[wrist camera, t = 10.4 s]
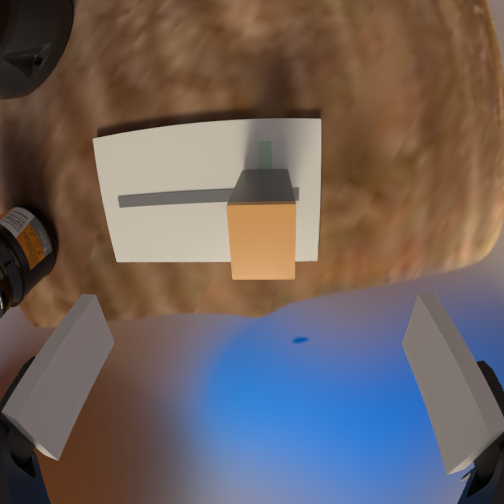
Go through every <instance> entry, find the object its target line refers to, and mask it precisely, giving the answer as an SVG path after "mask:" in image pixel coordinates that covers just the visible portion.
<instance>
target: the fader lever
mask: <svg viewBox="0 0 504 504" xmlns="http://www.w3.org/2000/svg"><path fill="white" fill-rule="evenodd" d="M226 207H227V220H228V232H229V244H230V256H231V267H232V279H295V251H296V201H295V197H294V193H293V188H292V184H291V180H290V176H289V172H288V169H255V170H242V172H241V174H240V176H239V179H238V181H237V183H236V185H235V187H234V190H233V192H232V194H231V196H230V199H229V201H228V203H227V205H226Z"/></svg>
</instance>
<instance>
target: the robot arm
mask: <svg viewBox="0 0 504 504" xmlns="http://www.w3.org/2000/svg"><path fill="white" fill-rule="evenodd" d="M72 18H73V8H72V2H71V0H0V99H13V98H19V97H23V96H26V95H28V94H29V93H31V92H33V91H34V90H35V89H37V88H38V87H39V86H40V85H41V84H42V83H43V82H44V81H45V80H46V79H47V77H48V76H49V75H50V74H51V72H52V71H53V69H54V68H55V66H56V65H57V63H58V61H59V59H60V57H61V55H62V53H63V51H64V49H65V46H66V44H67V41H68V38H69V35H70V31H71V26H72ZM113 345H114V340H113V337H112V335H111V333H110V330H109V328H108V325H107V323H106V320H105V318H104V315H103V313H102V310H101V307H100V305H99V302H98V299H97V297H96V295H87V294H82V295H81V296H80V298H79V299H78V300H77V301H76V303H75V304H74V305H73V307H72V308H71V309H70V311H69V312H68V313H67V314H66V316H65V317H64V318H63V320H62V321H61V322H60V324H59V325H58V326H57V328H56V329H55V331H54V332H53V333H52V335H51V336H50V338H49V339H48V340H47V342H46V343H45V345H44V346H43V347H42V349H41V350H40V352H39V353H38V355H37V356H36V357H32V358H31V359H30V360H29V361H28V362H26V363H25V364H24V366H23V367H22V369H21V370H20V372H19V373H18V376H16V378H15V379H14V383H12V384H11V385H10V387H9V389H8V390H7V392H6V394H5V395H4V397H3V398H2V400H1V402H0V504H51V503H50V500H49V497H48V494H47V491H46V488H45V484H44V481H43V478H42V474H41V471H40V467H39V463H38V459H37V456H36V454H35V452H34V451H33V450H34V448H35V447H36V448H37V449H38V450H40V451H41V452H42V453H43V454H44V455H47V456H49V457H51V458H54V459H56V460H59V458H60V455H61V453H62V451H63V448H64V446H65V444H66V441H67V439H68V437H69V434H70V432H71V430H72V428H73V426H74V423H75V421H76V419H77V417H78V415H79V413H80V410H81V408H82V406H83V404H84V402H85V400H86V398H87V396H88V394H89V392H90V389H91V388H92V385H93V383H94V381H95V379H96V377H97V376H98V374H99V372H100V370H101V368H102V366H103V364H104V362H105V360H106V358H107V356H108V354H109V352H110V350H111V349H112V347H113ZM402 346H403V348H404V350H405V353H406V355H407V358H408V360H409V363H410V365H411V368H412V371H413V373H414V376H415V378H416V381H417V383H418V386H419V389H420V392H421V394H422V397H423V400H424V403H425V406H426V408H427V411H428V414H429V417H430V420H431V423H432V426H433V429H434V433H435V436H436V439H437V442H438V445H439V449H440V452H441V456H442V459H443V463H444V466H445V470H446V474H447V475H449V474H451V473H454V472H457V471H460V470H462V469H465V468H466V467H467V466H468V465H469V464H471V463H472V462H474V465H475V467H474V468H473V469H472V470H470V471H469V472H468V473H467V474H466V475H464V476H463V478H462V479H461V481H462V482H463V481H464V480H466V479H467V478H468V477H469V479H468V481H467V482H466V486H465V488H464V490H463V493H462V495H461V497H460V499H459V501H458V503H457V504H504V391H503V388H502V386H501V384H500V382H498V379H497V377H496V375H495V373H494V372H493V369H491V368H490V367H489V366H488V365H487V364H486V363H485V362H484V361H479V362H476V361H475V359H474V357H473V356H472V354H471V352H470V350H469V348H468V347H467V345H466V343H465V342H464V340H463V338H462V337H461V335H460V333H459V332H458V330H457V328H456V327H455V325H454V324H453V322H452V320H451V319H450V317H449V316H448V314H447V312H446V311H445V309H444V308H443V307H442V305H441V303H440V302H439V300H438V299H437V297H436V296H435V294H434V293H425V294H418V296H417V299H416V303H415V306H414V309H413V312H412V316H411V319H410V322H409V325H408V328H407V331H406V333H405V336H404V339H403V342H402Z"/></svg>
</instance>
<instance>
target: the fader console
mask: <svg viewBox="0 0 504 504" xmlns="http://www.w3.org/2000/svg"><path fill="white" fill-rule="evenodd" d="M93 144H94V152H95V158H96V165H97V171H98V177H99V183H100V189H101V194H102V199H103V204H104V209H105V214H106V219H107V223H108V228H109V232H110V236H111V241H112V245H113V249H114V253H115V257H116V260H117V262H231V256H230V244H229V232H228V220H227V207H226V205H227V203H228V201H229V199H230V196H231V194H232V192H233V190H234V187H235V185H236V183H237V181H238V179H239V176H240V174H241V172H242V170H255V169H288V172H289V176H290V180H291V184H292V188H293V193H294V197H295V201H296V251H295V261H317V257H318V239H319V219H320V191H321V119H317V118H264V119H239V120H222V121H209V122H198V123H188V124H179V125H171V126H163V127H156V128H149V129H142V130H136V131H130V132H124V133H118V134H113V135H108V136H103V137H98V138H94V139H93Z"/></svg>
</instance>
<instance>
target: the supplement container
mask: <svg viewBox="0 0 504 504" xmlns="http://www.w3.org/2000/svg"><path fill="white" fill-rule="evenodd" d="M56 260H57V244H56V240H55V236H54V233H53V231H52V229H51V227H50V225H49V223H48V222H47V220H46V219H45V218H44V216H43V215H42V214H41V213H40V212H39V211H37V210H36V209H35V208H33V207H31V206H28V205H23V204H21V205H16V206H13V207H12V208H10V209H9V210H8V211H6V212H4V213H3V214H1V215H0V318H2V316H3V315H4V314H5V313H6V312H7V311H8V310H9V309H10V307H16V306H18V305H19V304H20V303H21V302H22V301H23V300H24V297H25V296H26V295H27V294H28V293H29V292H30V291H31V290H32V289H33V288H34V287H35V286H36V285H37V284H38V283H39V282H40V281H41V280H42V279H43V278H44V277H45V276H47V275H48V274H49V273H50V272H51V271H52V270H53V268H54V266H55V264H56Z"/></svg>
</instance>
